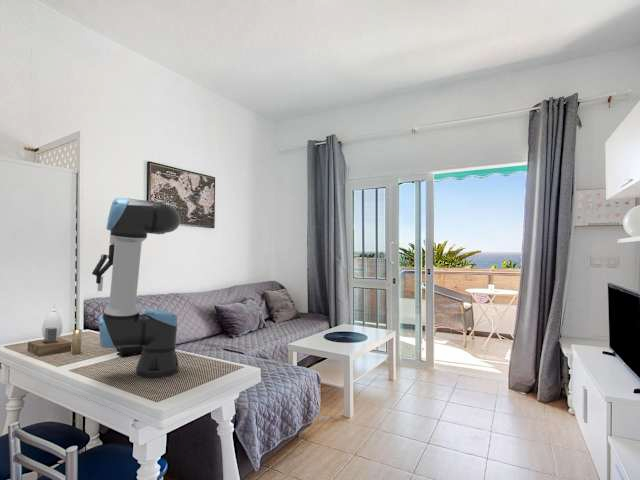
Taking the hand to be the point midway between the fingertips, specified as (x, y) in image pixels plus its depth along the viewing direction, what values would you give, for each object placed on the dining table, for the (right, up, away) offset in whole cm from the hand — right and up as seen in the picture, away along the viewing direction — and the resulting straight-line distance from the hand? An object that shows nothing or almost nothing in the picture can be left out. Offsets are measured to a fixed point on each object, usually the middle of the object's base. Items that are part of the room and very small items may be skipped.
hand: (115, 290), depth 174 cm
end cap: (+11, -27, -9) cm, 31 cm away
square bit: (-23, -25, -11) cm, 35 cm away
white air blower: (-33, -25, +4) cm, 42 cm away
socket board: (-23, -25, -11) cm, 35 cm away
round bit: (-10, -26, -12) cm, 30 cm away
